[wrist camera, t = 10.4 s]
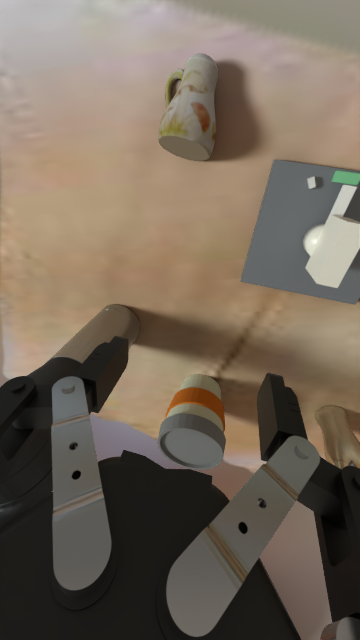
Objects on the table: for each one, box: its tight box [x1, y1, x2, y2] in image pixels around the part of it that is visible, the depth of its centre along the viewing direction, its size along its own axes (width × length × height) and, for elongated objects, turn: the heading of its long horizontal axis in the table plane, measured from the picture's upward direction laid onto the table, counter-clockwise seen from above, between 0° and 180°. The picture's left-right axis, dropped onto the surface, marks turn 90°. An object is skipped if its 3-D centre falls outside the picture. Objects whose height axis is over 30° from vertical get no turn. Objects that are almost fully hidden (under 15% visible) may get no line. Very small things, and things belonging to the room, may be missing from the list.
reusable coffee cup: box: [158, 374, 226, 470], centre depth 50 cm, size 13×13×15 cm
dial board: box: [241, 160, 360, 305], centre depth 35 cm, size 17×18×2 cm
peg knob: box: [303, 185, 360, 288], centre depth 30 cm, size 10×4×9 cm, turn 172°
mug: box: [158, 53, 218, 161], centre depth 30 cm, size 8×10×10 cm
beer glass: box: [315, 406, 360, 469], centre depth 46 cm, size 7×7×15 cm
